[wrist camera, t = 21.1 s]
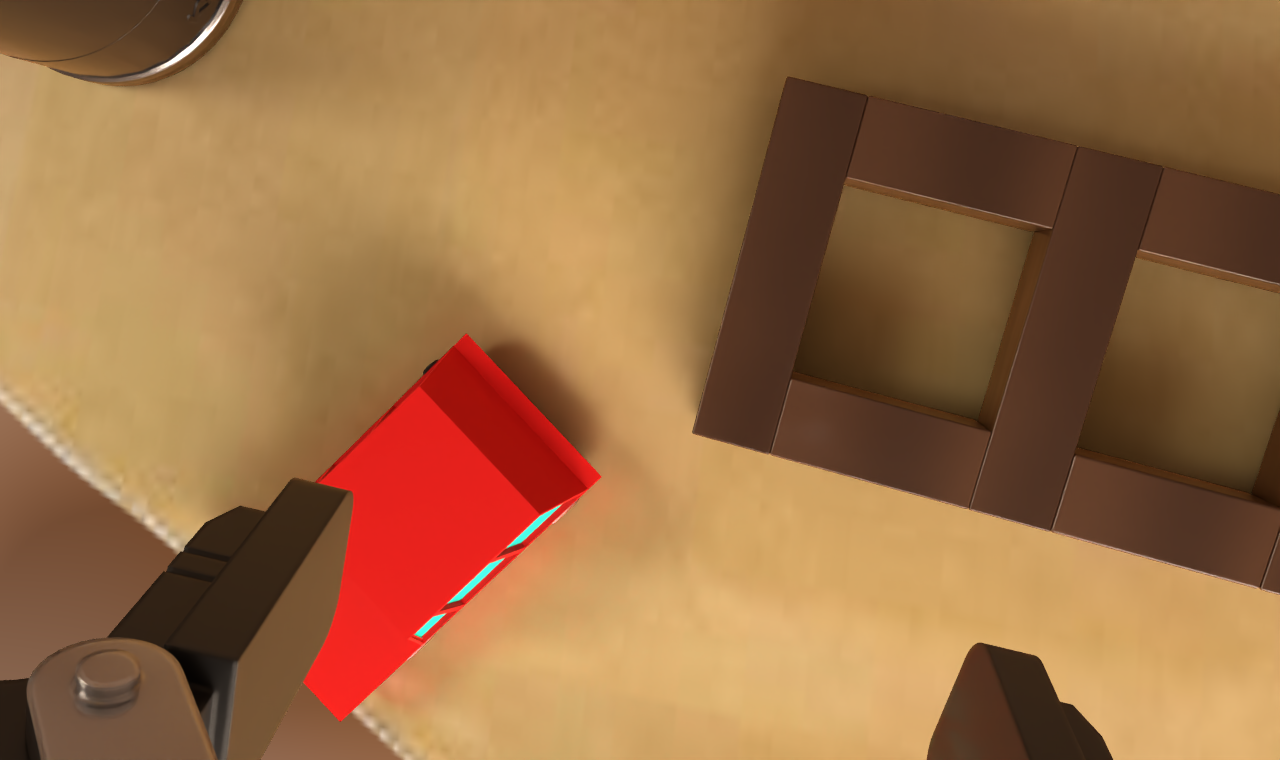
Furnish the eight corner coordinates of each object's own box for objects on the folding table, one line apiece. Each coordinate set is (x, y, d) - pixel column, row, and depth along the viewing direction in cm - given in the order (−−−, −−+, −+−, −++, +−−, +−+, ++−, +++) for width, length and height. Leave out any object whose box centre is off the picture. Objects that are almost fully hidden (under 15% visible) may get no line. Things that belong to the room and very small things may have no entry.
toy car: (231, 564, 38) (168, 598, 34) (472, 325, 37) (434, 332, 33) (361, 703, 38) (312, 754, 34) (609, 470, 36) (588, 495, 32)
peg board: (698, 422, 36) (691, 433, 33) (786, 89, 35) (786, 75, 32) (1305, 588, 34) (1346, 613, 32) (1424, 243, 33) (1476, 241, 30)
